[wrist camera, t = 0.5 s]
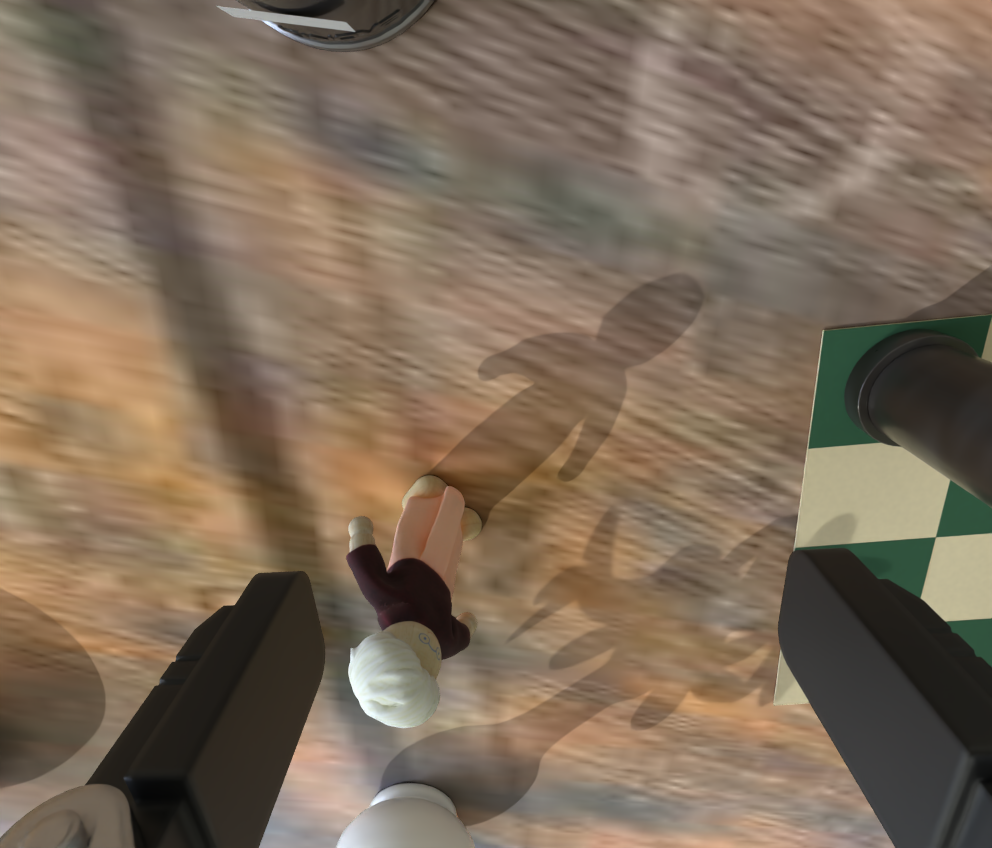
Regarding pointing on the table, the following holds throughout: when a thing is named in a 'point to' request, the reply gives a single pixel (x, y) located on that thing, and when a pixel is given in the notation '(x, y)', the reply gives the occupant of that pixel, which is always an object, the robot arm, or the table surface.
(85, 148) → the table surface
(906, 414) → the dark grey cylinder
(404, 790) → the flower vase
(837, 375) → the chess mat
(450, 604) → the grandmother figurine
